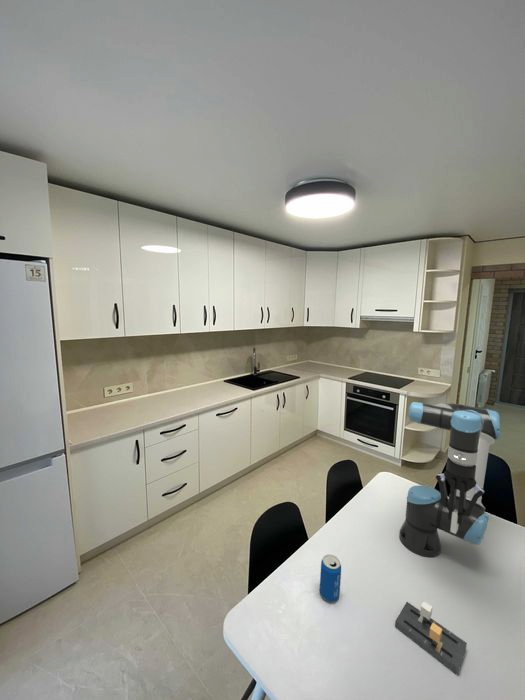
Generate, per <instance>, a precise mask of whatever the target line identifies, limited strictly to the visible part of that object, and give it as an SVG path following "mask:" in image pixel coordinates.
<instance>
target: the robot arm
mask: <svg viewBox="0 0 525 700" xmlns="http://www.w3.org/2000/svg"><path fill="white" fill-rule="evenodd" d="M408 419H409V421H411V422H413V423H417V424H421V425H426V426H429V427H434V428H438V429H442V430H446V431H450V433H449V441H448V442H449V443H448V450H447V459H446V468H445V471H444V472H443V473H440V472H439V473H437V474H436V476H435V478H436V480H437V483H438V487H439V490H437V489H436V488H434V487H433V486H432V487H431V486H428V485H419V484H418V485H413V486H411V487H410V488H409V489H408V491H407V496H406V507H405V508H406V509H405V520H404V522H403V523H402V525H401V527H400V529H399V536H398V537H399V540H400V542H401V544H402V545H403V546H404V547H405V548H406V549H407V550H409V551H410V552H412V553H413V554H416V555H418V556H421V557H426V558H434V557H437V556H439V555H440V553H441V550H442V549H441V548H442V544H441V539H440V537H439V532H438V530H441V531H442V532H444V533H447V534H449V535H452V536H454V537H456V538H459V539H460V540H462V541H463V542H468V543H470V544H473V545H475V546H476V545H477V546H478V545H480V544H481V543H483V539H484V536H485V534H486V530H487V526H488V524H489V520H490V515H489V514H487V512H486V507H485V506H484V505H483V503H482V499H483V497H482V496H483V495H484V493H485V489H484V484H485V479H486V477H485V476H486V471H487V463H488V457H489V453H490V452H489V451H490V446H491V445H494V444H495V442H496V440H500V439H501V420H500V414H499V413H498V412H497V411H495V410H491V409H488V408H481V407H475V406H469V405H466V404H459V403H437V404H430V403H429V404H428V403H423V402H419V401H418V402H417V401H413V402H411V404H410V406H409V409H408ZM446 481H447V483H448V484H449V486H450V487H449V490H450V493H449V495H448V491H447V485H446Z"/></svg>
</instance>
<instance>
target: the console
mask: <svg viewBox="0 0 525 700" xmlns="http://www.w3.org/2000/svg"><path fill="white" fill-rule="evenodd" d="M420 611H421V609H419V608H417V607H416V606H414V604H413V605H412V604H411V603H410V602H409V601H406V602H405V604H404V605H403V608H402V609H401V611H400V612H399V614H398V615H397V618H396V619H395V621H394V622H395V623H394V628H396V629H397V630H398V631H399V632H401V633H402V634H404V635H405V636H406V637H407V638H409V639H410V640H411V641H412V642H414V643H415V644H417V646H419V647H420V648H421V649H423V650H424V651H426V652H427V653H428V654H429V655H430V656H432V657H433V658H434V659H435V660H437V661H438V662H439V663H440V664H442V665H443V666H444V667H446V668H447V669H449V671H451V672H453V673H454V674H455V675H456V676H459V672H460V670H461V667H462V663H463V660H464V657H465V653H466V651H467V646H468V645H467V642H466V641H465V640H463V639H462V638H460V637H459V636H458V635H456V634H455V633H453V632H452V631H450V630H449V629H447V628H446V627H444V626H443V625H442V624H440V623H439V622H437V621H436V620H434V619H433V618H432V617H430V619H429V620H428V621H427V622H425V621H424V620H423V616H422V615H421V614H420ZM432 623H434V624H436V625H437V626H439V627H440V628H442V637H441V640H440V642H439V644H438V643H437V645H436V646H435V645H434V644H433V643H432V638H430V637H429V633H430V627H431V625H432Z"/></svg>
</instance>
